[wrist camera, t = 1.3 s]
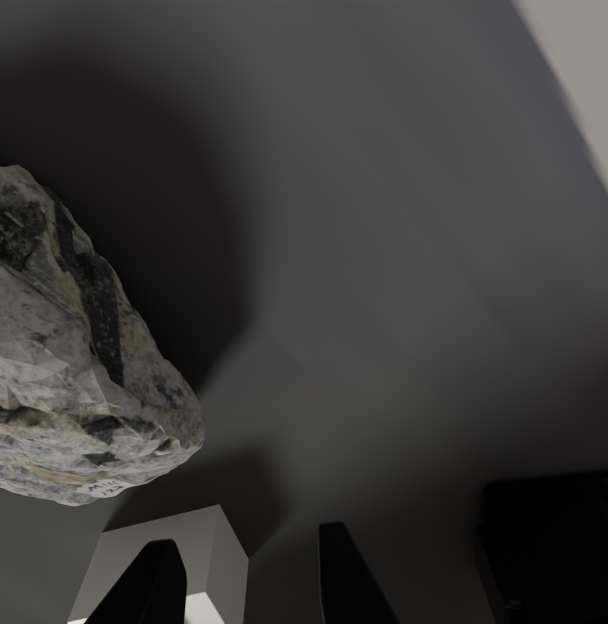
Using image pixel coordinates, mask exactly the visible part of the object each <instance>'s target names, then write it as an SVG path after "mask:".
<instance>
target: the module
mask: <svg viewBox="0 0 608 624" xmlns="http://www.w3.org/2000/svg"><path fill="white" fill-rule="evenodd" d="M160 539H173V540H174V541H175V542H176V544H177V547H178V549H179V552H180V555H181V558H182V561H183V564H184V567H185V570H186V574H187V595H186V606H185V618H184V624H243V619H244V607H245V596H246V584H247V573H248V561H249V559H248V557H247V555H246V554H245V552H244V550H243V548H242V546H241V544H240V542H239V540H238V539H237V537H236V535H235V533H234V531H233V529H232V527H231V525H230V524H229V522H228V520H227V518H226V516H225V514H224V512H223V510H222V509H221V507H220V505H215V506H210V507H206V508H202V509H198V510H194V511H190V512H186V513H181V514H177V515H173V516H169V517H165V518H161V519H157V520H152V521H148V522H144V523H140V524H136V525H132V526H128V527H123V528H119V529H115V530H111V531H107V532H103V533H102V534H101V537H100V539H99V542H98V544H97V547H96V550H95V552H94V555H93V557H92V560H91V562H90V565H89V568H88V570H87V573H86V575H85V578H84V580H83V583H82V586H81V588H80V591H79V593H78V596H77V598H76V601H75V604H74V606H73V609H72V611H71V614H70V616H69V619H68V622H67V623H68V624H83V623H84V622H85V621H86V620H87V618H88V617H89V616H90V614H91V613H92V612H93V611H94V609H95V608H96V607H97V606H98V604H99V603H100V602H101V600H102V599H103V598H104V597H105V595H106V594H107V593H108V591H109V590H110V589H111V588H112V586H113V585H114V584H115V582H116V581H117V580H118V579H119V577H120V576H121V575H122V574H123V572H124V571H125V570H126V568H127V567H128V566H129V565H130V563H131V562H132V561H133V559H134V558H135V557H136V556H137V554H138V553H139V552H140V551H141V549H142V548H143V547H144V545H145V544H147V543H148V542H149V541H152V540H160Z"/></svg>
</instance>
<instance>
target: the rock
mask: <svg viewBox="0 0 608 624" xmlns="http://www.w3.org/2000/svg"><path fill="white" fill-rule="evenodd" d="M205 431H206V423H205V419H204V415H203V412H202V408H201V404H200V403H199V401H198V399H197V397H196V396H195V394H194V392H193V390H192V389H191V387H190V386H189V384H188V383H187V382H186V380H185V379H184V378H183V376H182V375H181V374H180V372H179V371H178V370H177V369H176V368H175V367H174V366H173V365H172V364H171V363H170V362H169V361H168V360H165V359H164V358H163V357H162V355H161V354H160V352H159V350H158V349H157V346H156V343H155V340H154V339H153V338H152V336H151V335H150V332H149V329H148V327H147V325H146V323H145V321H144V320H143V319H142V317H141V316H140V314H139V313H138V311H137V310H135V309H134V308H133V307H131V305H130V303H129V301H128V299H127V297H126V295H125V293H124V291H123V289H122V283H121V282H120V280H119V278H118V276H117V274H116V272H115V271H114V269H113V268H112V267H111V266H110V264H109V263H108V262H107V261H106V259H104V258H103V257H102V256H100V255H99V254H98V253H96V251H95V250H94V249H93V246H92V243H91V240H90V238H89V237H88V235H87V234H86V233H85V232H84V231H83V230H82V229H81V228H80V227H79V226H78V225H77V223H76V222H75V220H74V219H73V217H72V215H71V214H70V212H69V210H68V209H67V208H66V207H65V206H64V205H63V204H62V201H61V199H60V198H59V197H58V196H57V194H56V193H55V192H54V191H53V190H52V189H51V188H50V187H46V186H42V185H39V184H38V183H37V182H36V181H35V180H34V178H33V177H32V175H31V174H30V172H28V171H27V170H25V169H24V168H22V167H21V166H19V165H18V164H17V165H12V166H7V167H0V488H4V489H6V490H9V491H11V492H14V493H18V494H22V495H26V496H31V497H36V498H42V499H49V500H55V501H56V502H58V503H60V504H66V505H71V506H78V505H83V504H87V503H91V502H93V501H95V500H96V499H99V498H106V497H112V496H116V495H117V494H119V493H120V492H121V491H123V490H124V489H126V488H129V487H132V486H137V485H142V484H147V483H149V482H150V481H152V480H153V479H155V478H157V477H158V476H161V475H164V474H167V473H168V472H169V471H170V470H172V469H174V468H176V467H177V466H179V465H181V464H182V463H184V462H185V461H187V460H188V459H189V458H190V457H191V456H192V454H193V453H195V452H196V451H198V450H199V449H200V448H201V447H202V445H203V442H204V439H205Z"/></svg>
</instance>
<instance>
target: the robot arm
mask: <svg viewBox="0 0 608 624" xmlns="http://www.w3.org/2000/svg"><path fill="white" fill-rule="evenodd" d="M496 494H497V495H496ZM475 564H476V567H477V570H478V573H479V576H480V579H481V582H482V585H483V588H484V590H485V593H486V596H487V599H488V602H489V605H490V608H491V611H492V614H493V617H494V620H495V622H496V624H608V472H600V473H591V474H581V475H571V476H562V477H552V478H543V479H533V480H524V481H514V482H504V483H495V484H491V485H489V486H487V487H486V488H485V489H484V491H483V509H482V524H479V525H478V527H477V528H476V544H475ZM318 565H319V593H320V603H321V609H322V615H323V621H324V624H400V622H399V621H398V619H397V617H396V615H395V613H394V612H393V610H392V608H391V606H390V604H389V603H388V601H387V599H386V597H385V595H384V594H383V592H382V590H381V588H380V586H379V585H378V583H377V581H376V579H375V577H374V576H373V574H372V572H371V570H370V568H369V567H368V565H367V563H366V561H365V559H364V558H363V556H362V554H361V552H360V550H359V549H358V547H357V545H356V543H355V541H354V540H353V538H352V536H351V534H350V532H349V531H348V529H347V527H346V525H345V524H344V523H343V522H342V521H333V522H323V523H320V524H319V525H318ZM186 595H187V574H186V570H185V567H184V564H183V561H182V558H181V555H180V552H179V549H178V547H177V544H176V542H175V541H174V540H173V539H160V540H152V541H149V542H148V543H147V544H145V545H144V547H143V548H142V549H141V551H140V552H139V553H138V554H137V556H136V557H135V558H134V559H133V561H132V562H131V563H130V565H129V566H128V567H127V568H126V570H125V571H124V572H123V574H122V575H121V576H120V577H119V579H118V580H117V581H116V582H115V584H114V585H113V586H112V588H111V589H110V590H109V591H108V593H107V594H106V595H105V597H104V598H103V599H102V600H101V602H100V603H99V604H98V606H97V607H96V608H95V609H94V611H93V612H92V613H91V614H90V616H89V617H88V618H87V620H86V621H85V622H84V623H83V624H184V618H185V606H186Z"/></svg>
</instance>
